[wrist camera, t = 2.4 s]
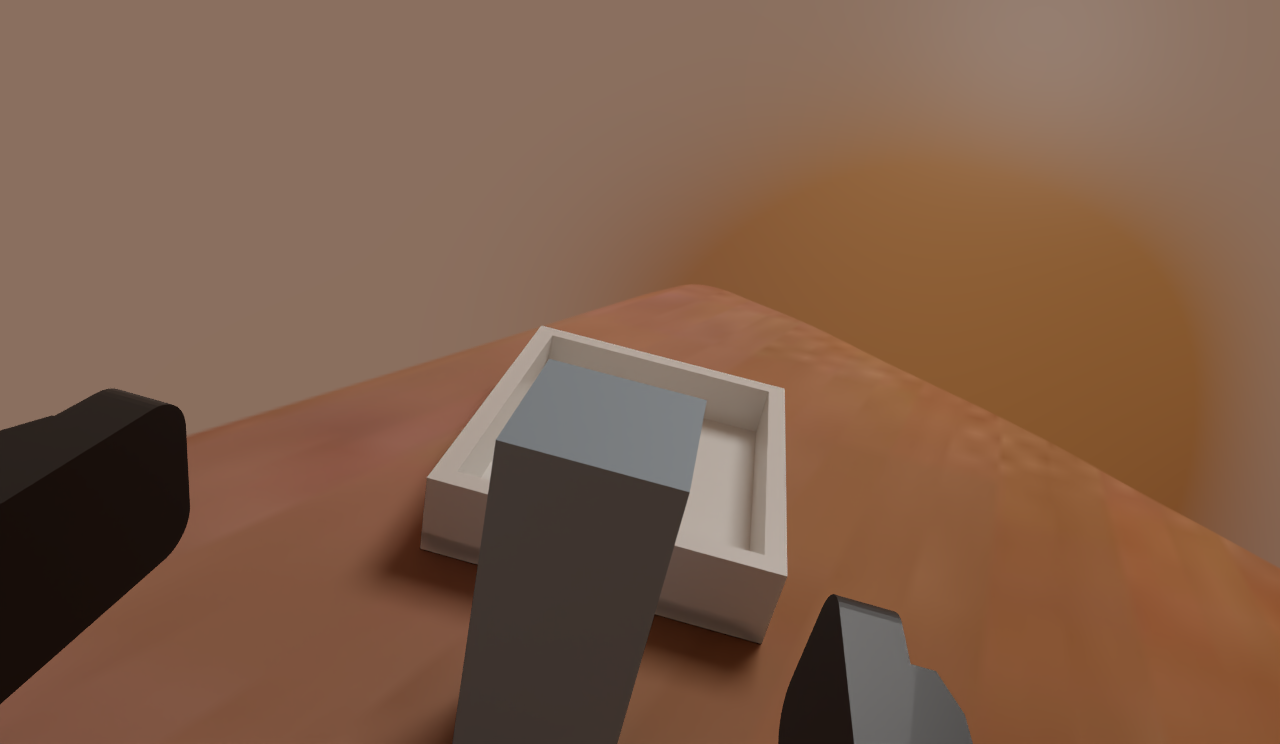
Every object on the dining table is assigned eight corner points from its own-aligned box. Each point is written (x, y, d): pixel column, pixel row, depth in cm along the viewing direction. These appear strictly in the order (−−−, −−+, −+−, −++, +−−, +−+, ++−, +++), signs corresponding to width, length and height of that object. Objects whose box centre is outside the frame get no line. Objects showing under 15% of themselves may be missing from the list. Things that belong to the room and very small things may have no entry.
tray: (767, 441, 50) (784, 388, 49) (761, 644, 34) (787, 576, 32) (532, 379, 51) (541, 325, 49) (419, 548, 35) (426, 477, 33)
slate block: (619, 710, 30) (707, 399, 23) (590, 834, 25) (689, 492, 19) (495, 674, 30) (549, 358, 24) (445, 791, 25) (495, 439, 19)
